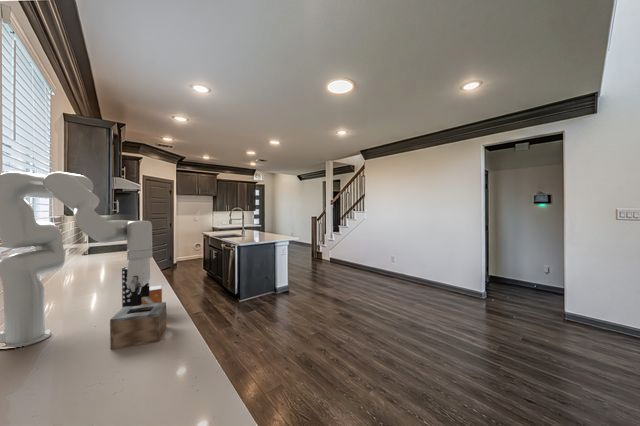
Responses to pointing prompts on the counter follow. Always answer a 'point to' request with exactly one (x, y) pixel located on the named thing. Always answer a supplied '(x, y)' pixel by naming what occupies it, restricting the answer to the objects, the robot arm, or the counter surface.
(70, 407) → the counter surface
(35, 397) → the counter surface
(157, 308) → the coin box
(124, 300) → the white-spotted black cylinder
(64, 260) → the robot arm
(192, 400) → the counter surface
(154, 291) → the small box
